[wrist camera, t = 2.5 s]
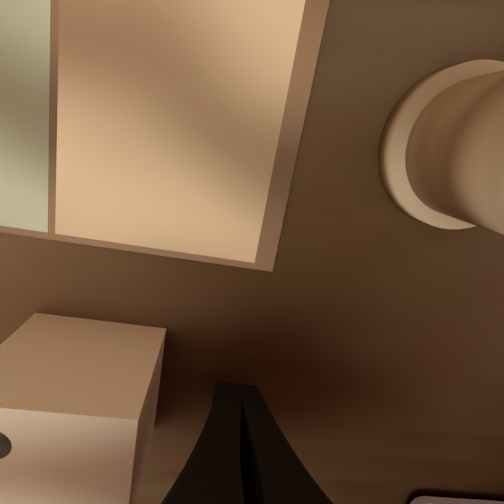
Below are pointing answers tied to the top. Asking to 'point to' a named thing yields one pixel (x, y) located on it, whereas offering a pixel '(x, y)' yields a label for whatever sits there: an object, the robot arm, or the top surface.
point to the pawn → (449, 148)
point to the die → (77, 410)
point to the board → (155, 122)
